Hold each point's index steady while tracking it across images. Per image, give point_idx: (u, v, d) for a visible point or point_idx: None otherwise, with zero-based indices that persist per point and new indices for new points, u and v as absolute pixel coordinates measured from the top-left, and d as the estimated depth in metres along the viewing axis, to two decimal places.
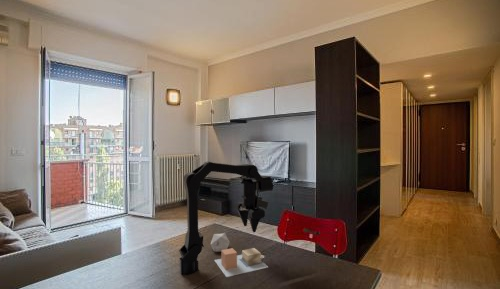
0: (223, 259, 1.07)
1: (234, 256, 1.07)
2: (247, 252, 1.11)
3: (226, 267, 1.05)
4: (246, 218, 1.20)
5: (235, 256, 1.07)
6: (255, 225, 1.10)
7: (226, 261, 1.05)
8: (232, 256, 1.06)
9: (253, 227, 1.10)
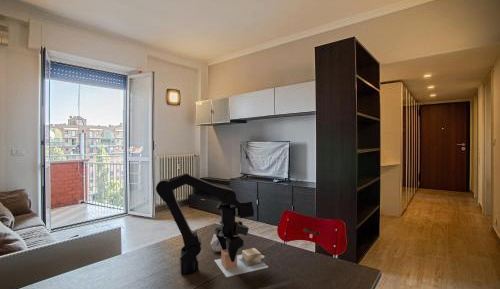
0: (223, 259, 1.07)
1: None
2: (247, 252, 1.11)
3: (226, 267, 1.05)
4: (226, 244, 1.13)
5: None
6: (233, 254, 1.03)
7: (226, 261, 1.05)
8: None
9: (231, 257, 1.03)
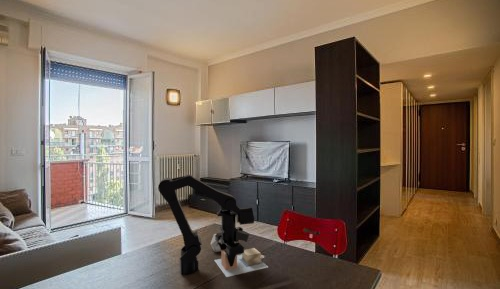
0: (223, 259, 1.07)
1: None
2: (247, 252, 1.11)
3: (226, 267, 1.05)
4: None
5: None
6: (232, 259, 1.05)
7: (226, 261, 1.05)
8: None
9: (230, 261, 1.05)
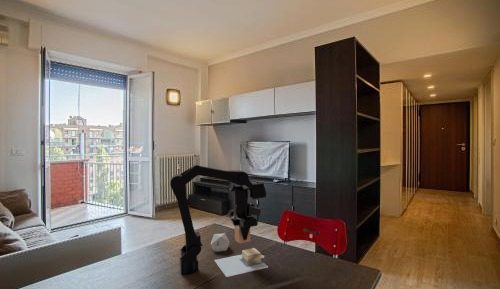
0: (237, 233, 1.09)
1: None
2: (247, 252, 1.11)
3: (239, 241, 1.07)
4: None
5: None
6: (245, 233, 1.07)
7: (240, 235, 1.08)
8: None
9: (243, 235, 1.07)
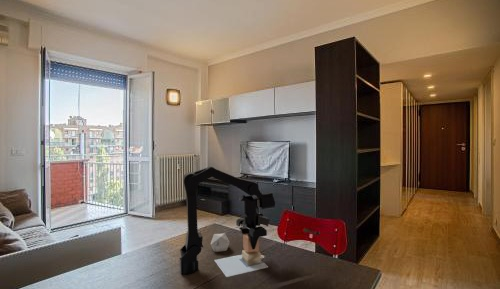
0: (245, 242, 1.11)
1: None
2: (247, 252, 1.11)
3: (248, 250, 1.09)
4: None
5: None
6: (254, 242, 1.09)
7: (248, 244, 1.09)
8: None
9: (252, 244, 1.09)
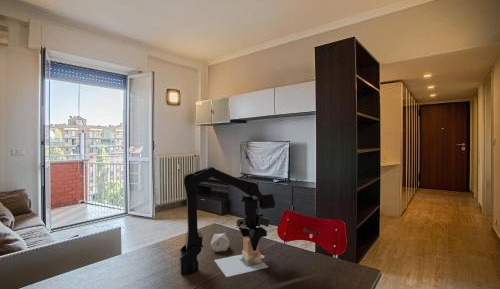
0: (245, 245, 1.11)
1: None
2: None
3: (248, 252, 1.09)
4: None
5: None
6: (255, 244, 1.08)
7: (249, 247, 1.09)
8: None
9: (253, 246, 1.08)
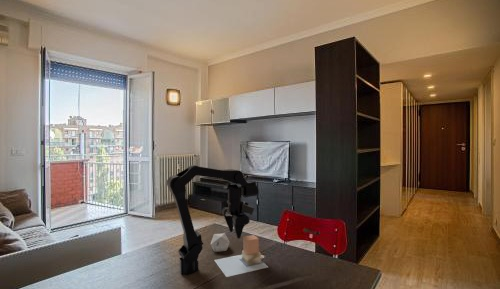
0: (245, 245, 1.11)
1: (256, 242, 1.11)
2: None
3: (248, 252, 1.09)
4: (232, 224, 1.19)
5: (257, 242, 1.11)
6: (239, 231, 1.09)
7: (249, 247, 1.09)
8: (254, 242, 1.10)
9: (237, 233, 1.09)
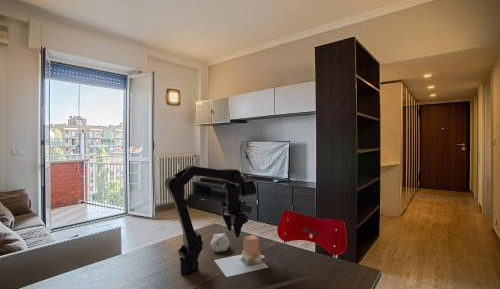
0: (245, 245, 1.11)
1: (256, 242, 1.11)
2: None
3: (248, 252, 1.09)
4: (230, 223, 1.19)
5: (257, 242, 1.11)
6: (238, 230, 1.09)
7: (249, 247, 1.09)
8: (254, 242, 1.10)
9: (236, 232, 1.09)
